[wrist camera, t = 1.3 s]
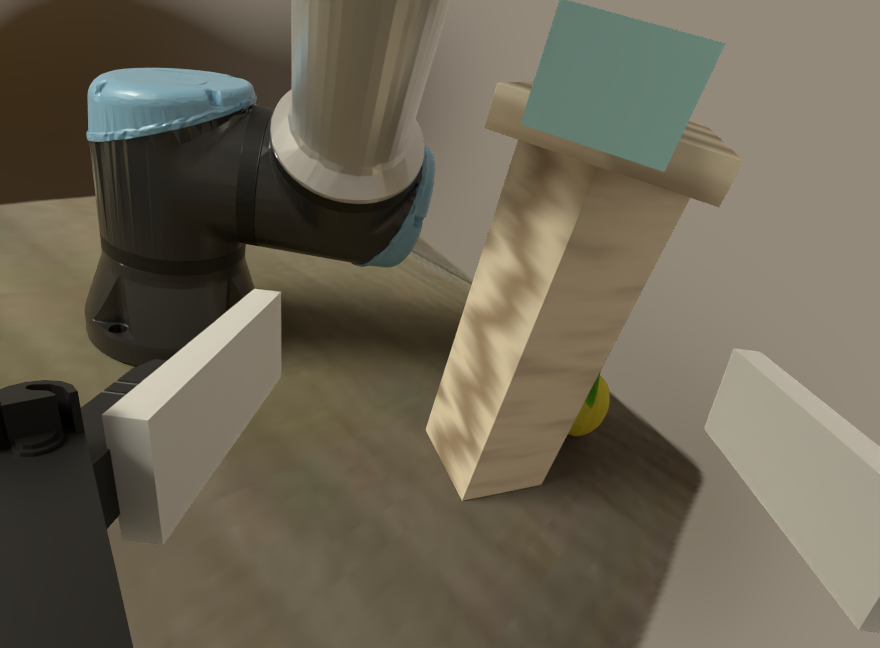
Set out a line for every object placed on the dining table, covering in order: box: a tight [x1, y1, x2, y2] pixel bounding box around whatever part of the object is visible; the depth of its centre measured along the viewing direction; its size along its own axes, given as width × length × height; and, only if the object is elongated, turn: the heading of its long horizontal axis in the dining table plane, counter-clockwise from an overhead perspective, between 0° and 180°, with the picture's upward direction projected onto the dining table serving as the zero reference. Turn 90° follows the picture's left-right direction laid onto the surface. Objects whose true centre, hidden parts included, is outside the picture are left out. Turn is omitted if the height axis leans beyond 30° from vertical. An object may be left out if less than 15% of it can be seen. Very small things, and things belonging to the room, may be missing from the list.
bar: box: [520, 0, 725, 172], centre depth 24 cm, size 26×4×3 cm, turn 158°
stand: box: [426, 82, 744, 501], centre depth 37 cm, size 11×18×30 cm, turn 159°
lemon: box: [568, 373, 610, 436], centre depth 49 cm, size 7×6×10 cm
